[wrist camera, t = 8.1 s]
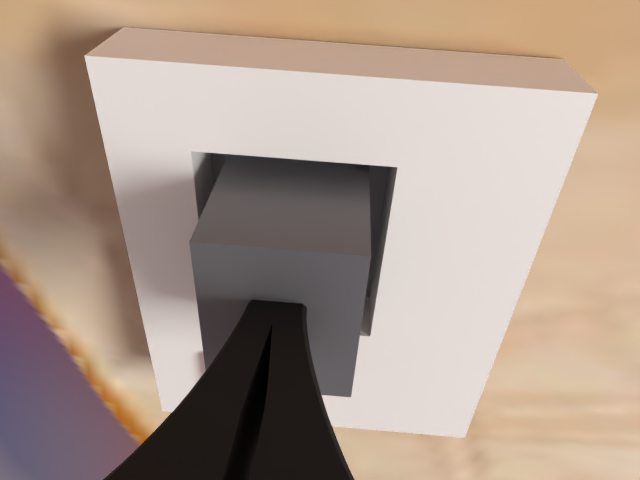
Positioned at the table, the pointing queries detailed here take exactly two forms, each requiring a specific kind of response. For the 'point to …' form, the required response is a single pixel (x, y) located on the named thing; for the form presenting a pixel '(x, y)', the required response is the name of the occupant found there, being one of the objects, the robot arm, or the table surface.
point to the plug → (287, 254)
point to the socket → (385, 192)
